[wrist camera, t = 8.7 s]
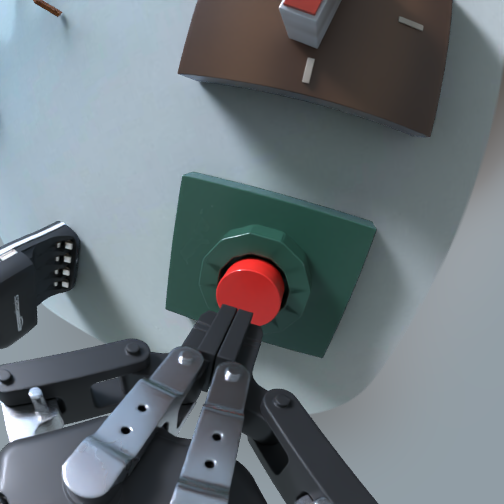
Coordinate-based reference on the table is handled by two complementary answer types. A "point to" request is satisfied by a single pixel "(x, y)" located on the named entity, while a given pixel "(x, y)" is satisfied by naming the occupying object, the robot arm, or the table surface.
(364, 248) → the button box
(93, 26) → the table surface
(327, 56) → the block
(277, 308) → the button
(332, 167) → the table surface
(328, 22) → the tap handle
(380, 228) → the table surface
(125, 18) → the table surface
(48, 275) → the battery charger
